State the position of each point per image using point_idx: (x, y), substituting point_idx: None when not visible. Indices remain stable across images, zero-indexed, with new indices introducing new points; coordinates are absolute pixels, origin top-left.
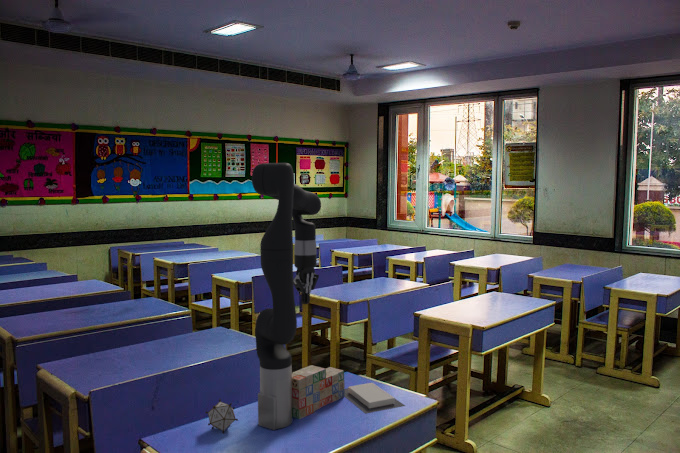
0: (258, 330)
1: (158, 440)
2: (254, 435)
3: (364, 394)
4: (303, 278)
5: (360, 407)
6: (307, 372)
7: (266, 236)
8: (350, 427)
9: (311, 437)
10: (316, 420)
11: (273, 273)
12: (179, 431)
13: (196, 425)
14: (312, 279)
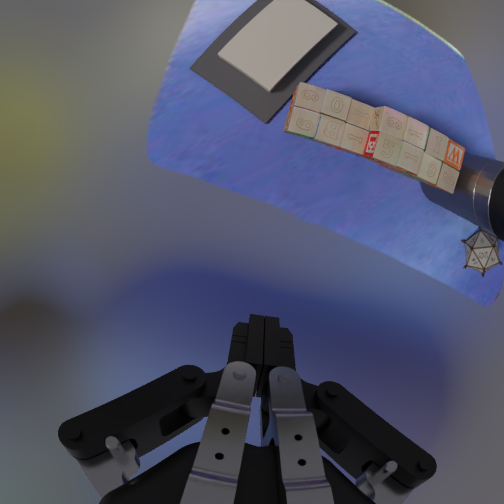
0: None
1: (492, 293)
2: None
3: (299, 42)
4: (345, 489)
5: (334, 45)
6: (427, 144)
7: None
8: (410, 48)
9: (460, 102)
10: (413, 111)
11: None
12: (476, 289)
13: (462, 283)
14: (202, 451)
